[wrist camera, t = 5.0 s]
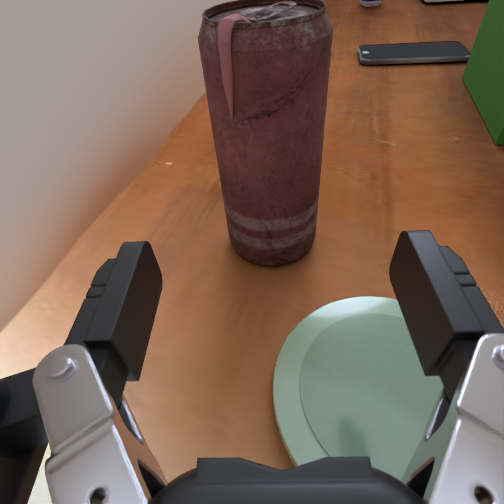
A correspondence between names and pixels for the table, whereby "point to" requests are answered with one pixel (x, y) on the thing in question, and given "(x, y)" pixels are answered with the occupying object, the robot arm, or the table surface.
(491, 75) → the hardback book
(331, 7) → the table surface
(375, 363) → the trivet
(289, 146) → the can
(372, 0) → the beverage can
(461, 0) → the file sorter
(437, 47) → the smartphone
